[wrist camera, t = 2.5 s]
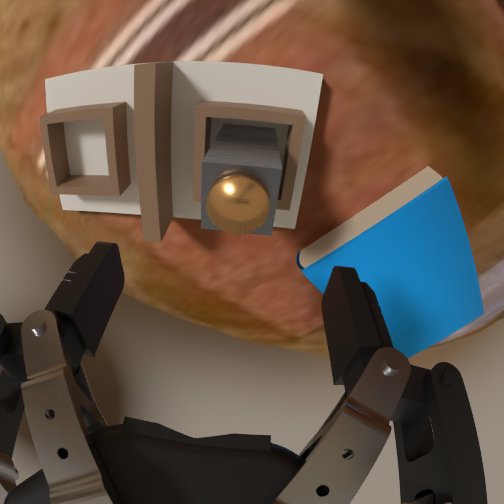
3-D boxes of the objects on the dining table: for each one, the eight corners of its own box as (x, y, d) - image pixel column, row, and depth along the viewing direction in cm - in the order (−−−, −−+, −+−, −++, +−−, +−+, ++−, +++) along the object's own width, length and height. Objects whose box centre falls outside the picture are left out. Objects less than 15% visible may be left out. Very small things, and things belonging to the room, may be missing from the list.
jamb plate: (319, 73, 20) (335, 77, 15) (293, 220, 28) (298, 255, 24) (54, 76, 19) (17, 87, 15) (69, 202, 27) (43, 230, 23)
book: (447, 176, 21) (486, 314, 31) (426, 159, 24) (474, 293, 35) (295, 277, 28) (389, 369, 38) (292, 250, 31) (383, 347, 42)
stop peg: (275, 128, 21) (283, 175, 14) (269, 174, 24) (272, 244, 16) (223, 123, 21) (198, 167, 13) (220, 169, 24) (198, 236, 16)
